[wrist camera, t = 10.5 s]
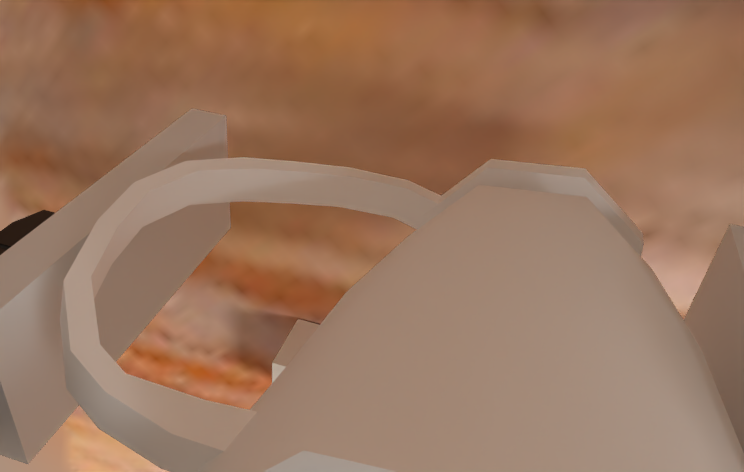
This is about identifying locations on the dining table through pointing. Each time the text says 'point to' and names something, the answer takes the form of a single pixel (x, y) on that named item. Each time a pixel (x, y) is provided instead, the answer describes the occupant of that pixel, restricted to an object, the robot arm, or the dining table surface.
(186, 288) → the dining table surface
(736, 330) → the robot arm
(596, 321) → the cup
